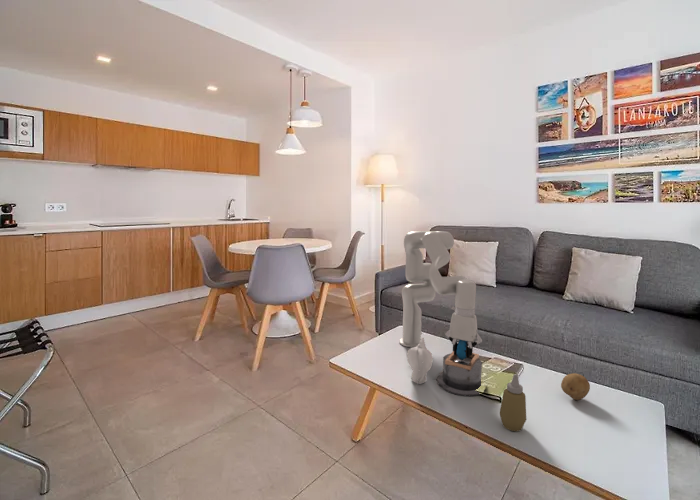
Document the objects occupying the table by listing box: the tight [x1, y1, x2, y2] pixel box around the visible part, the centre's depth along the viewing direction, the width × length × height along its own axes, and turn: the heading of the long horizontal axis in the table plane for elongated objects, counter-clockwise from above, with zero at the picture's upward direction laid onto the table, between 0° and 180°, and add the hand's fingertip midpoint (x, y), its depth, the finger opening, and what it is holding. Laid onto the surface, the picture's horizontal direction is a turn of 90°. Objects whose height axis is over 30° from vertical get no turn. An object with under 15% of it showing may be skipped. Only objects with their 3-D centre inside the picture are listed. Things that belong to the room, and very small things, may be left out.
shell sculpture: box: [406, 337, 434, 385], centre depth 146 cm, size 8×8×18 cm
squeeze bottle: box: [499, 374, 527, 432], centre depth 117 cm, size 8×8×18 cm
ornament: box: [457, 340, 469, 360], centre depth 144 cm, size 8×5×10 cm, turn 156°
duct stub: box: [437, 350, 483, 397], centre depth 145 cm, size 19×19×12 cm
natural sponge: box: [560, 372, 591, 401], centre depth 135 cm, size 9×9×10 cm
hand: (462, 354), depth 145 cm, fingers closed on ornament, 4 cm apart
